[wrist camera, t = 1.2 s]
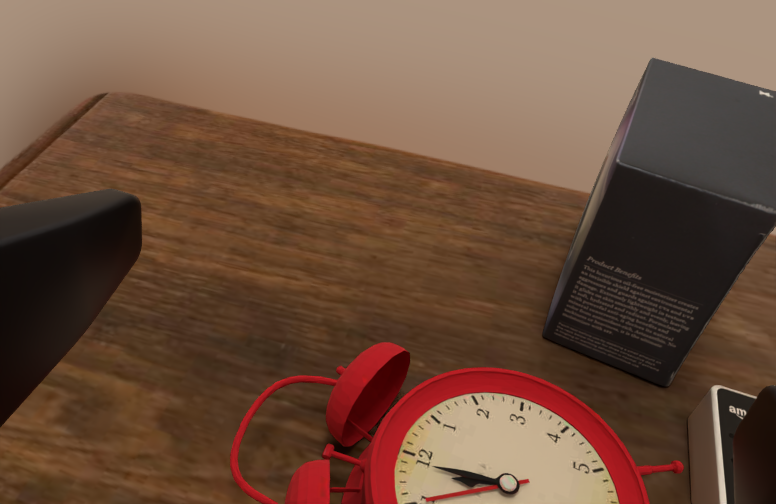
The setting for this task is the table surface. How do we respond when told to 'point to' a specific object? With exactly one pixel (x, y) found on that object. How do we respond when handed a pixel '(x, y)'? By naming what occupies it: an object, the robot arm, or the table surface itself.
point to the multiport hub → (715, 444)
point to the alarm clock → (460, 441)
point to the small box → (668, 221)
